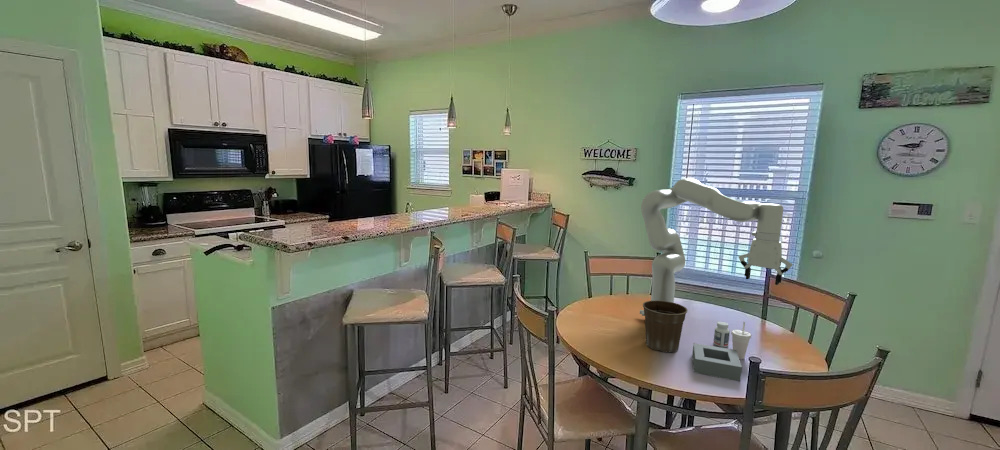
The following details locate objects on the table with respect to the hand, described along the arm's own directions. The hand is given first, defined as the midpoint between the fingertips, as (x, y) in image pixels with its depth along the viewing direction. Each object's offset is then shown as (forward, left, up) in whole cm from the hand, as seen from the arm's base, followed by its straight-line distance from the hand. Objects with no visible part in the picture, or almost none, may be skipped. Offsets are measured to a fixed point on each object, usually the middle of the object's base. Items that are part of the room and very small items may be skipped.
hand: (762, 281), depth 158 cm
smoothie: (-6, -9, -28) cm, 30 cm away
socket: (-15, -22, -28) cm, 39 cm away
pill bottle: (-11, +1, -28) cm, 30 cm away
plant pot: (-33, -11, -28) cm, 45 cm away
